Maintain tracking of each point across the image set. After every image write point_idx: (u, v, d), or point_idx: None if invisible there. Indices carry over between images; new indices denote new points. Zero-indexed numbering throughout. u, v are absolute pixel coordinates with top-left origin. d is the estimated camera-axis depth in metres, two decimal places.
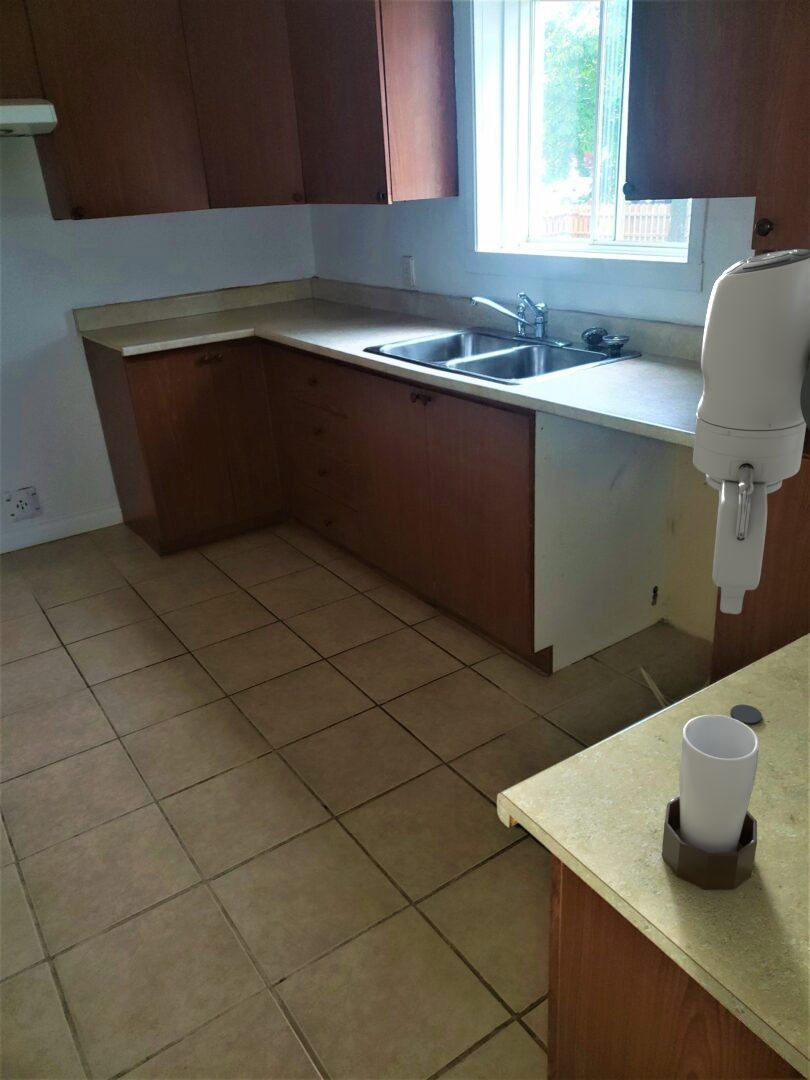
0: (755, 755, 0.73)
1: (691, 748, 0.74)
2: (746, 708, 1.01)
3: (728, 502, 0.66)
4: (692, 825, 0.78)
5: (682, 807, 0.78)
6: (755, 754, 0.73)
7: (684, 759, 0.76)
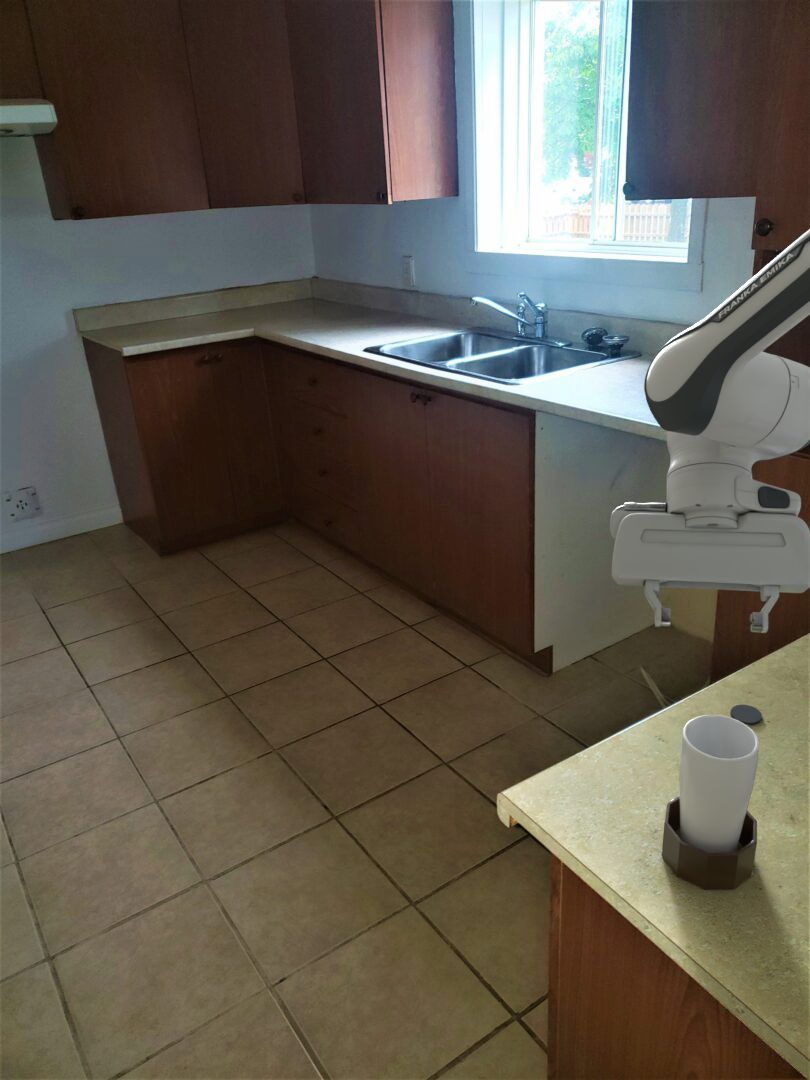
0: (755, 755, 0.73)
1: (691, 748, 0.74)
2: (746, 708, 1.01)
3: None
4: (692, 825, 0.78)
5: (682, 807, 0.78)
6: (755, 754, 0.73)
7: (684, 759, 0.76)
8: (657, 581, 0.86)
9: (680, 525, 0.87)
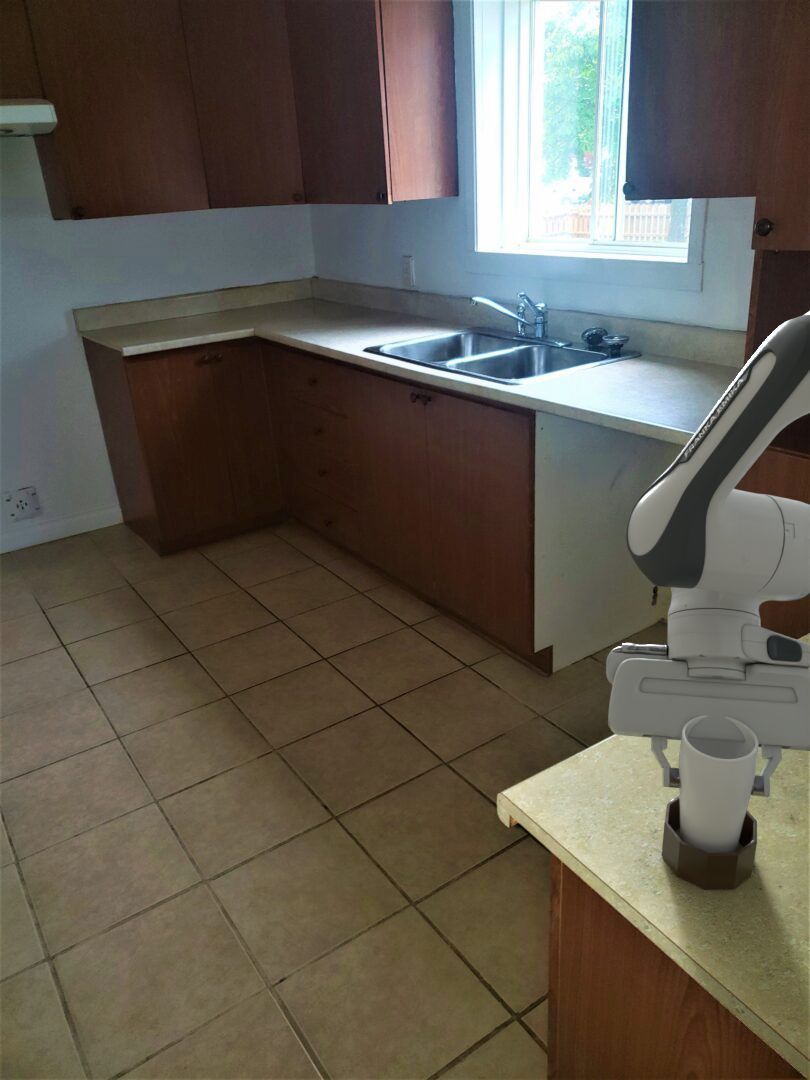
0: (754, 755, 0.73)
1: (690, 748, 0.74)
2: None
3: None
4: (692, 825, 0.78)
5: (682, 807, 0.78)
6: (754, 754, 0.73)
7: (684, 759, 0.76)
8: (665, 737, 0.79)
9: (682, 674, 0.80)
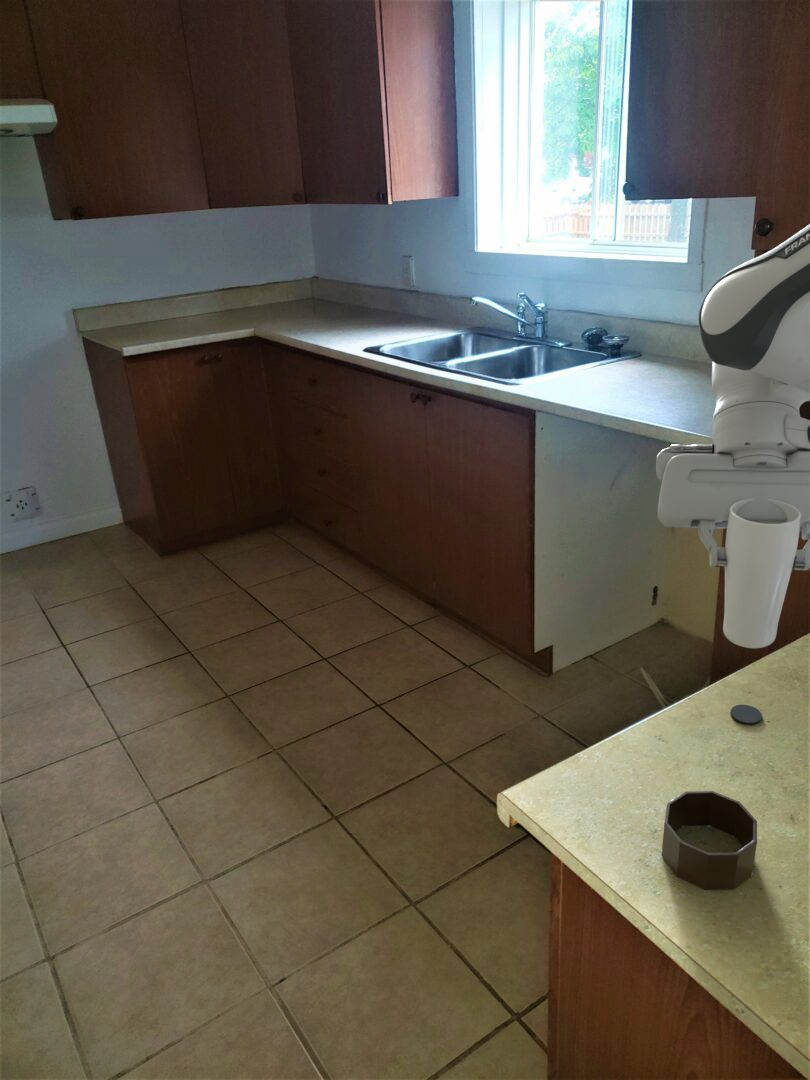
0: (798, 523, 0.80)
1: (739, 519, 0.81)
2: (746, 708, 1.01)
3: None
4: (738, 599, 0.84)
5: (728, 585, 0.85)
6: (798, 522, 0.80)
7: (731, 533, 0.82)
8: (712, 521, 0.85)
9: (728, 465, 0.86)
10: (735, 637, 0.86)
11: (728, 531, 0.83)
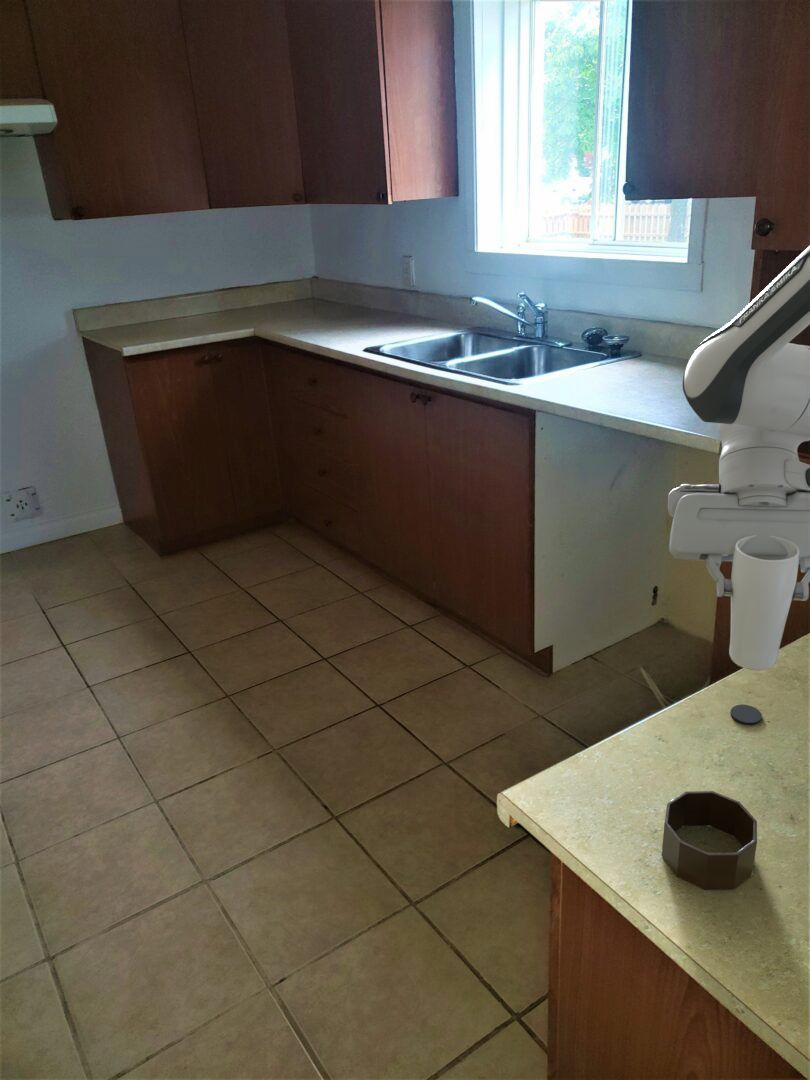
0: (797, 559, 0.89)
1: (743, 555, 0.90)
2: (746, 708, 1.01)
3: None
4: (743, 626, 0.93)
5: (733, 613, 0.94)
6: (797, 558, 0.89)
7: (737, 567, 0.91)
8: (719, 555, 0.94)
9: (733, 504, 0.95)
10: (740, 660, 0.95)
11: (734, 565, 0.92)
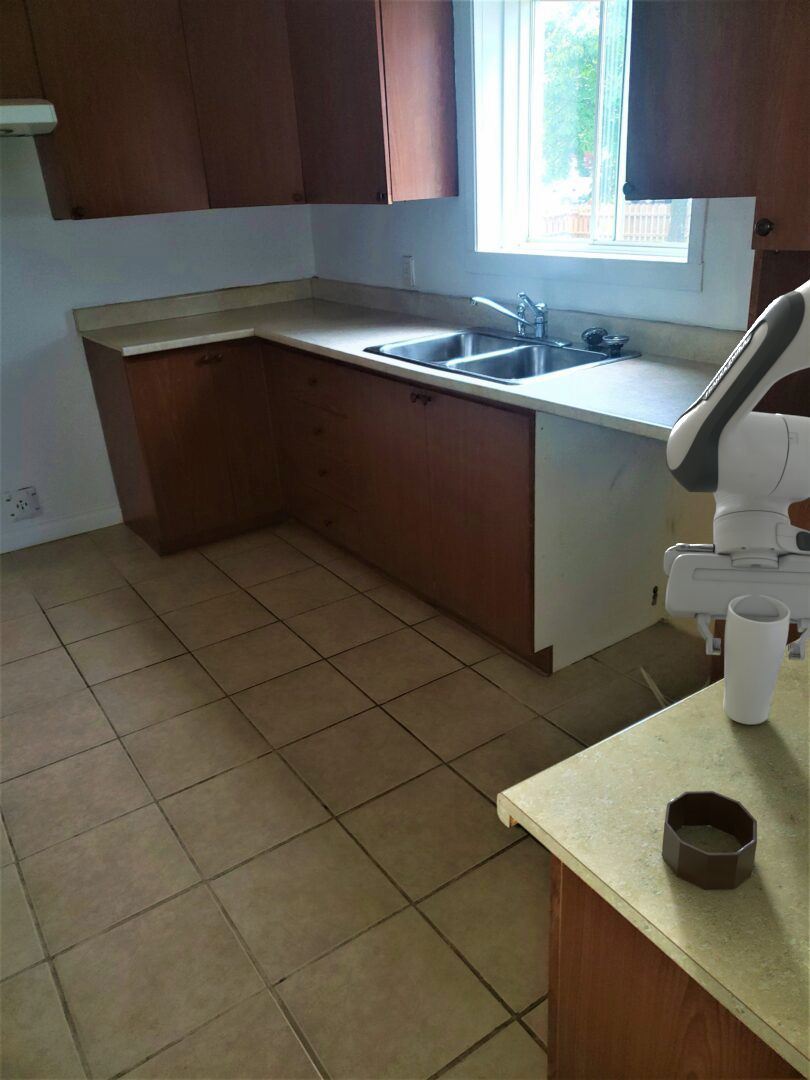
0: (787, 620, 0.92)
1: (736, 616, 0.93)
2: None
3: None
4: (736, 683, 0.96)
5: (727, 669, 0.97)
6: (787, 619, 0.92)
7: (730, 627, 0.94)
8: (708, 614, 0.98)
9: (727, 565, 0.98)
10: (733, 714, 0.99)
11: (727, 624, 0.95)
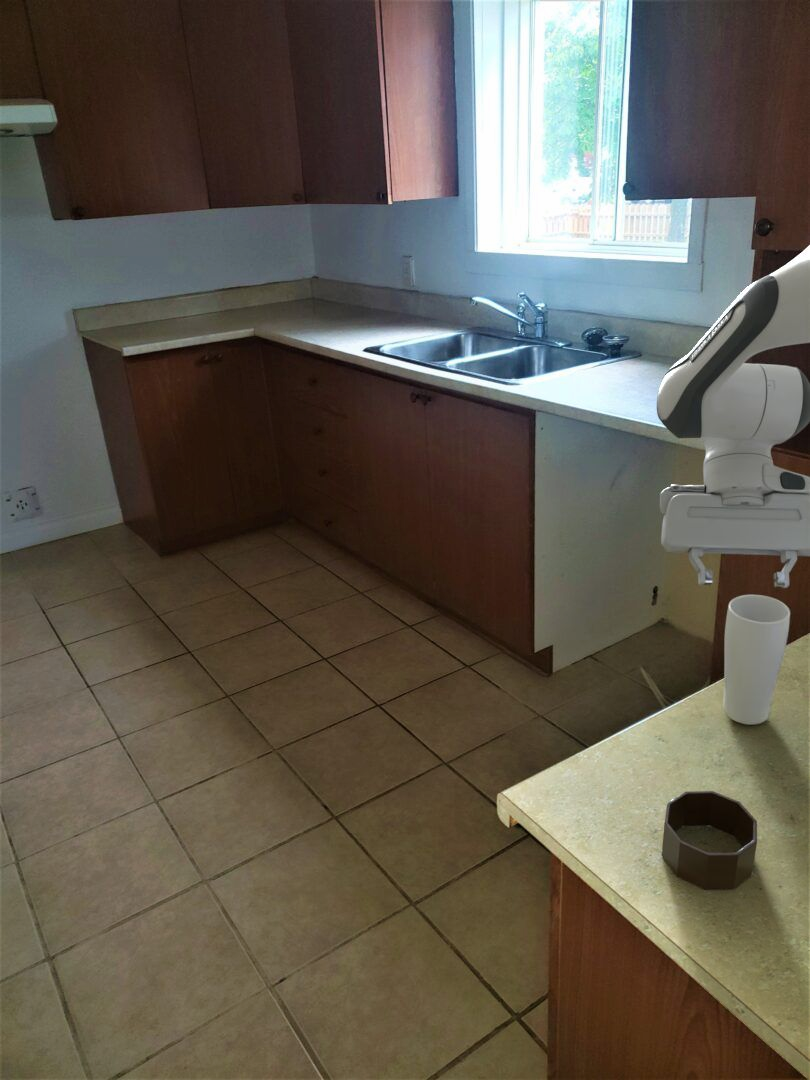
0: (787, 620, 0.92)
1: (736, 616, 0.93)
2: None
3: None
4: (736, 683, 0.96)
5: (727, 669, 0.97)
6: (787, 619, 0.92)
7: (730, 627, 0.94)
8: (701, 548, 1.07)
9: (718, 503, 1.08)
10: (733, 714, 0.99)
11: (727, 624, 0.95)
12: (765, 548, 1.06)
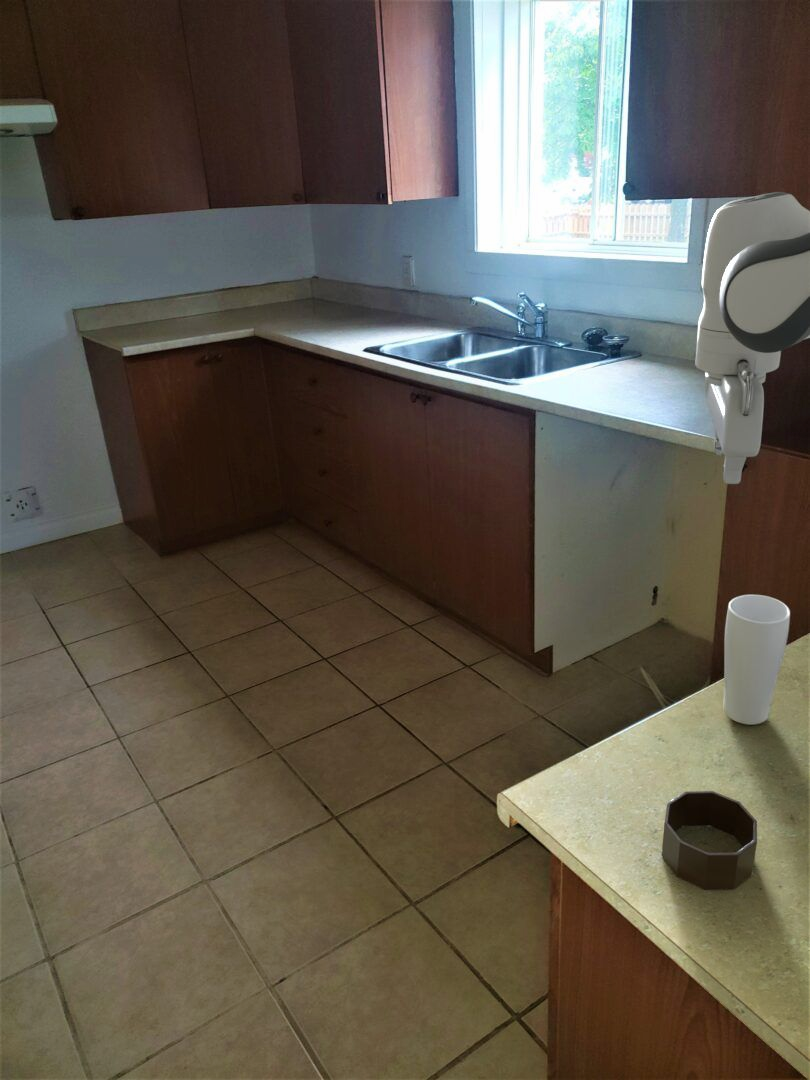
0: (787, 620, 0.92)
1: (736, 616, 0.93)
2: None
3: (734, 387, 0.85)
4: (736, 683, 0.96)
5: (727, 669, 0.97)
6: (787, 619, 0.92)
7: (730, 627, 0.94)
8: None
9: None
10: (733, 714, 0.99)
11: (727, 624, 0.95)
12: None
